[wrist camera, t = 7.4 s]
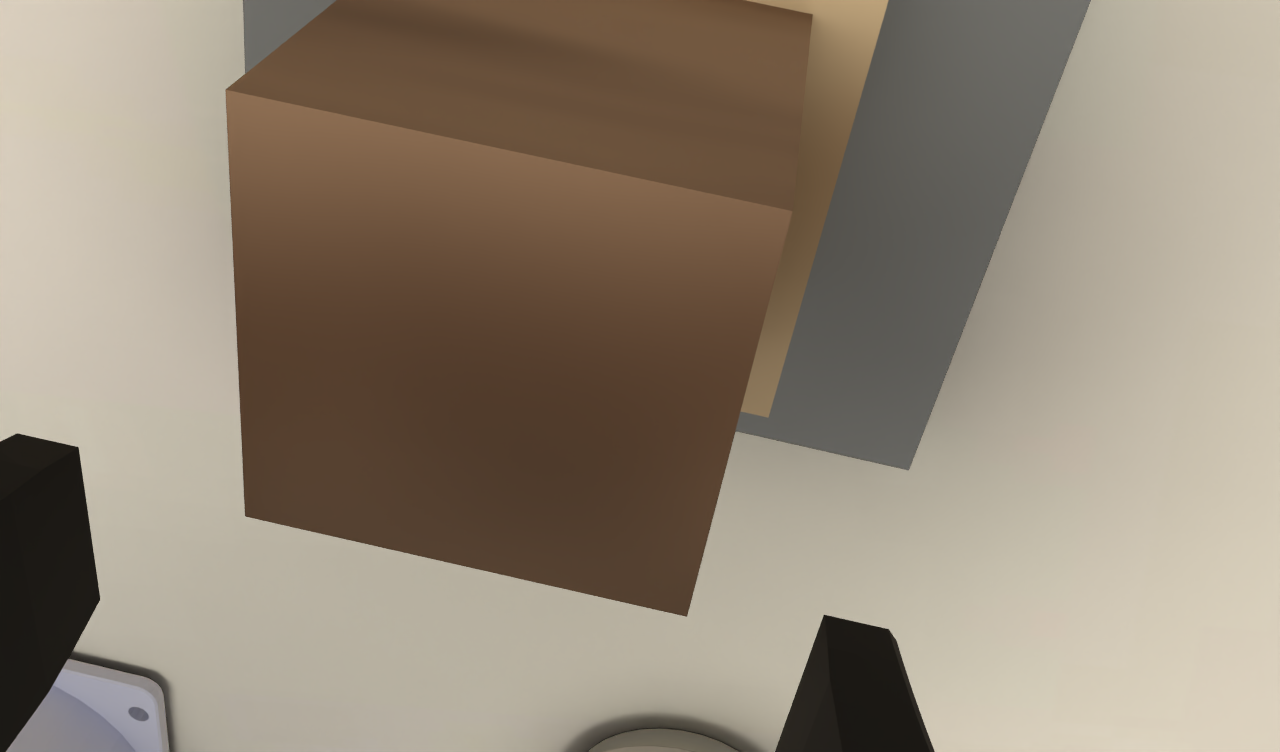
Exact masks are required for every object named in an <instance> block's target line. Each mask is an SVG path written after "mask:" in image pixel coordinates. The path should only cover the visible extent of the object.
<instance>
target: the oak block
mask: <svg viewBox="0 0 1280 752" xmlns="http://www.w3.org/2000/svg"><path fill="white" fill-rule="evenodd" d="M746 1H751V2H756V3H761V4H766V5H770V6H775V7H780V8H785V9H790V10H794V11H799V12H804V13H809V14H813V16H812V26H811V36H810V46H809V56H808V66H807V76H806V85H805V95H804V105H803V115H802V125H801V135H800V144H799V154H798V164H797V174H796V184H795V194H794V203H793V212H792V216H791V220H790V224H789V227H788V231H787V235H786V239H785V243H784V247H783V250H782V254H781V258H780V262H779V266H778V270H777V273H776V277H775V281H774V285H773V289H772V293H771V296H770V300H769V304H768V308H767V312H766V316H765V319H764V323H763V327H762V331H761V335H760V339H759V342H758V346H757V350H756V354H755V358H754V362H753V365H752V369H751V373H750V377H749V381H748V385H747V388H746V392H745V396H744V400H743V404H742V407H741V412H745V413H750V414H754V415H759V416H763V417H767V418H768V417H769V414H770V410H771V407H772V403H773V400H774V396H775V393H776V390H777V386H778V383H779V379H780V376H781V372H782V369H783V365H784V362H785V358H786V355H787V351H788V348H789V344H790V341H791V337H792V334H793V330H794V327H795V324H796V320H797V317H798V313H799V310H800V306H801V303H802V299H803V296H804V292H805V289H806V285H807V282H808V278H809V275H810V271H811V268H812V265H813V261H814V258H815V254H816V251H817V247H818V244H819V240H820V237H821V233H822V230H823V226H824V223H825V219H826V216H827V212H828V209H829V205H830V202H831V199H832V195H833V192H834V188H835V185H836V181H837V178H838V174H839V171H840V167H841V164H842V160H843V157H844V153H845V150H846V146H847V143H848V140H849V136H850V133H851V129H852V126H853V122H854V119H855V115H856V112H857V108H858V105H859V101H860V98H861V94H862V91H863V87H864V84H865V80H866V77H867V74H868V70H869V67H870V63H871V60H872V56H873V53H874V49H875V46H876V42H877V39H878V35H879V32H880V28H881V25H882V21H883V18H884V15H885V11H886V8H887V4H888V1H889V0H746Z"/></svg>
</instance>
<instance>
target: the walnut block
mask: <svg viewBox="0 0 1280 752" xmlns="http://www.w3.org/2000/svg"><path fill="white" fill-rule="evenodd" d="M812 16H813V14H809V13H804V12H799V11H794V10H790V9H785V8H780V7H775V6H770V5H766V4H761V3H756V2H751V1H746V0H336V1H335V2H334V3H333V4H331V5H330V6H329V7H328V8H326V9H325V10H324V11H323V12H321V13H320V14H319V15H318V16H316V17H315V18H314V19H313V20H311V21H310V22H309V23H308V24H307V25H305V26H304V27H303V28H302V29H300V30H299V31H298V32H297V33H295V34H294V35H293V36H292V37H290V38H289V39H288V40H287V41H285V42H284V43H283V44H282V45H280V46H279V47H278V48H277V49H276V50H274V51H273V52H272V53H271V54H269V55H268V56H267V57H266V58H264V59H263V60H262V61H261V62H259V63H258V64H257V65H256V66H254V67H253V68H252V69H251V70H250V71H248V72H247V73H246V74H245V75H243V76H242V77H241V78H240V79H238V80H237V81H236V82H235V83H233V84H232V85H231V86H230V87H228V88H227V89H226V109H227V130H228V152H229V174H230V196H231V218H232V239H233V261H234V283H235V305H236V326H237V348H238V370H239V392H240V413H241V435H242V457H243V479H244V500H245V516H246V517H250V518H255V519H259V520H263V521H268V522H272V523H277V524H281V525H286V526H290V527H294V528H299V529H303V530H308V531H312V532H316V533H321V534H325V535H330V536H334V537H338V538H343V539H347V540H352V541H356V542H360V543H365V544H369V545H374V546H378V547H382V548H387V549H391V550H396V551H400V552H404V553H409V554H413V555H418V556H422V557H427V558H431V559H435V560H440V561H444V562H449V563H453V564H457V565H462V566H466V567H471V568H475V569H479V570H484V571H488V572H493V573H497V574H501V575H506V576H510V577H515V578H519V579H523V580H528V581H532V582H537V583H541V584H545V585H550V586H554V587H559V588H563V589H568V590H572V591H576V592H581V593H585V594H590V595H594V596H598V597H603V598H607V599H612V600H616V601H620V602H625V603H629V604H634V605H638V606H642V607H647V608H651V609H656V610H660V611H664V612H669V613H673V614H678V615H682V616H686V617H687V614H688V611H689V607H690V603H691V599H692V595H693V591H694V588H695V584H696V580H697V576H698V572H699V568H700V565H701V561H702V557H703V553H704V549H705V545H706V542H707V538H708V534H709V530H710V526H711V522H712V519H713V515H714V511H715V507H716V503H717V499H718V496H719V492H720V488H721V484H722V480H723V476H724V473H725V469H726V465H727V461H728V457H729V453H730V450H731V446H732V442H733V438H734V434H735V430H736V427H737V423H738V419H739V415H740V411H741V407H742V404H743V400H744V396H745V392H746V388H747V385H748V381H749V377H750V373H751V369H752V365H753V362H754V358H755V354H756V350H757V346H758V342H759V339H760V335H761V331H762V327H763V323H764V319H765V316H766V312H767V308H768V304H769V300H770V296H771V293H772V289H773V285H774V281H775V277H776V273H777V270H778V266H779V262H780V258H781V254H782V250H783V247H784V243H785V239H786V235H787V231H788V227H789V224H790V220H791V216H792V212H793V203H794V194H795V184H796V174H797V164H798V154H799V144H800V135H801V125H802V115H803V105H804V95H805V85H806V76H807V66H808V56H809V46H810V36H811V26H812Z"/></svg>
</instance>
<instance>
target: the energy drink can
mask: <svg viewBox="0 0 1280 752" xmlns="http://www.w3.org/2000/svg"><path fill="white" fill-rule="evenodd" d="M589 752H739V751H737V750H735V749H733V748H731V747H729V746H728V745H726V744H724V743H722V742H720V741H717V740H714V739H712V738H709V737H706V736H703V735H700V734H696V733H691V732H687V731H682V730H673V729H662V728H659V729H640V730H635V731H629V732H624V733H621V734H618V735H615V736H613V737H610V738H607V739H605V740H604V741H602V742H600V743H599V744H597V745H595V746H594V747H592V748H591V749H590V750H589Z"/></svg>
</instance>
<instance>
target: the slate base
mask: <svg viewBox="0 0 1280 752" xmlns="http://www.w3.org/2000/svg"><path fill="white" fill-rule="evenodd" d="M335 1H336V0H243V12H244V47H245V74H246V73H247V72H248V71H250V70H251V69H252V68H253V67H254V66H256V65H257V64H258V63H259V62H261V61H262V60H263V59H264V58H266V57H267V56H268V55H269V54H271V53H272V52H273V51H274V50H276V49H277V48H278V47H279V46H280V45H282V44H283V43H284V42H285V41H287V40H288V39H289V38H290V37H292V36H293V35H294V34H295V33H297V32H298V31H299V30H300V29H302V28H303V27H304V26H305V25H307V24H308V23H309V22H310V21H311V20H313V19H314V18H315V17H316V16H318V15H319V14H320V13H321V12H323V11H324V10H325V9H326V8H328V7H329V6H330V5H331V4H333V3H334V2H335ZM1090 1H1091V0H889V1H888V4H887V8H886V11H885V15H884V18H883V21H882V25H881V28H880V32H879V35H878V39H877V42H876V46H875V49H874V53H873V56H872V60H871V63H870V67H869V70H868V74H867V77H866V80H865V84H864V87H863V91H862V94H861V98H860V101H859V105H858V108H857V112H856V115H855V119H854V122H853V126H852V129H851V133H850V136H849V140H848V143H847V146H846V150H845V153H844V157H843V160H842V164H841V167H840V171H839V174H838V178H837V181H836V185H835V188H834V192H833V195H832V199H831V202H830V205H829V209H828V212H827V216H826V219H825V223H824V226H823V230H822V233H821V237H820V240H819V244H818V247H817V251H816V254H815V258H814V261H813V265H812V268H811V271H810V275H809V278H808V282H807V285H806V289H805V292H804V296H803V299H802V303H801V306H800V310H799V313H798V317H797V320H796V324H795V327H794V330H793V334H792V337H791V341H790V344H789V348H788V351H787V355H786V358H785V362H784V365H783V369H782V372H781V376H780V379H779V383H778V386H777V390H776V393H775V396H774V400H773V403H772V407H771V410H770V414H769V417H768V418H767V417H763V416H759V415H754V414H750V413H745V412H741V411H740V415H739V419H738V423H737V427H736V430H735V431H738V432H742V433H746V434H751V435H755V436H760V437H764V438H769V439H773V440H777V441H782V442H786V443H791V444H795V445H799V446H804V447H808V448H813V449H817V450H821V451H826V452H830V453H835V454H839V455H843V456H848V457H852V458H857V459H861V460H865V461H870V462H874V463H879V464H883V465H888V466H892V467H896V468H901V469H905V470H909V468H910V466H911V463H912V461H913V458H914V455H915V453H916V450H917V448H918V445H919V443H920V440H921V437H922V435H923V432H924V430H925V427H926V424H927V422H928V419H929V417H930V414H931V412H932V409H933V406H934V404H935V401H936V399H937V396H938V394H939V391H940V388H941V386H942V383H943V381H944V378H945V375H946V373H947V370H948V368H949V365H950V363H951V360H952V357H953V355H954V352H955V350H956V347H957V344H958V342H959V339H960V337H961V334H962V332H963V329H964V326H965V324H966V321H967V319H968V316H969V314H970V311H971V308H972V306H973V303H974V301H975V298H976V295H977V293H978V290H979V288H980V285H981V283H982V280H983V277H984V275H985V272H986V270H987V267H988V264H989V262H990V259H991V257H992V254H993V252H994V249H995V246H996V244H997V241H998V239H999V236H1000V234H1001V231H1002V228H1003V226H1004V223H1005V221H1006V218H1007V215H1008V213H1009V210H1010V208H1011V205H1012V203H1013V200H1014V197H1015V195H1016V192H1017V190H1018V187H1019V184H1020V182H1021V179H1022V177H1023V174H1024V172H1025V169H1026V166H1027V164H1028V161H1029V159H1030V156H1031V153H1032V151H1033V148H1034V146H1035V143H1036V141H1037V138H1038V135H1039V133H1040V130H1041V128H1042V125H1043V123H1044V120H1045V117H1046V115H1047V112H1048V110H1049V107H1050V104H1051V102H1052V99H1053V97H1054V94H1055V92H1056V89H1057V86H1058V84H1059V81H1060V79H1061V76H1062V73H1063V71H1064V68H1065V66H1066V63H1067V61H1068V58H1069V55H1070V53H1071V50H1072V48H1073V45H1074V43H1075V40H1076V37H1077V35H1078V32H1079V30H1080V27H1081V24H1082V22H1083V19H1084V17H1085V14H1086V12H1087V9H1088V6H1089V4H1090Z"/></svg>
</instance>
